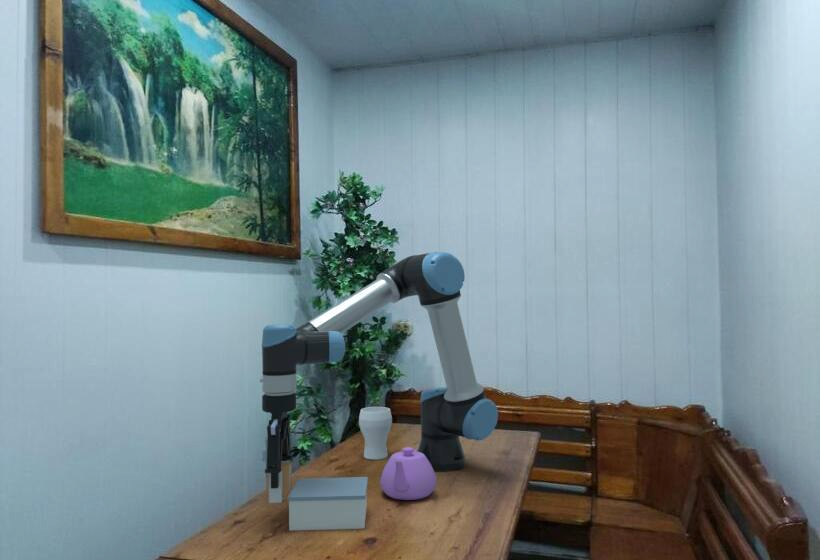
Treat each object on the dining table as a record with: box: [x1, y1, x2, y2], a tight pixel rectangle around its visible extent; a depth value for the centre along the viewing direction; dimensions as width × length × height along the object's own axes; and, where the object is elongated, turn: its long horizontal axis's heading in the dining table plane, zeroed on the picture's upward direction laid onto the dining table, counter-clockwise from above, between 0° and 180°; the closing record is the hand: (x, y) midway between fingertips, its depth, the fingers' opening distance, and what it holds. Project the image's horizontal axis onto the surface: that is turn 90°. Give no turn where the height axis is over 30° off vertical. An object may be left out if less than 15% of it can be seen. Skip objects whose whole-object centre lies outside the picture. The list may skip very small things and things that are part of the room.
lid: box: [266, 461, 369, 502], centre depth 121 cm, size 22×13×6 cm, turn 92°
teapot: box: [380, 446, 437, 501], centre depth 135 cm, size 20×14×12 cm
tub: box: [288, 490, 368, 532], centre depth 120 cm, size 16×12×7 cm
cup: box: [358, 406, 393, 460], centre depth 173 cm, size 11×11×15 cm
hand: (279, 495), depth 120 cm, fingers open, 7 cm apart
